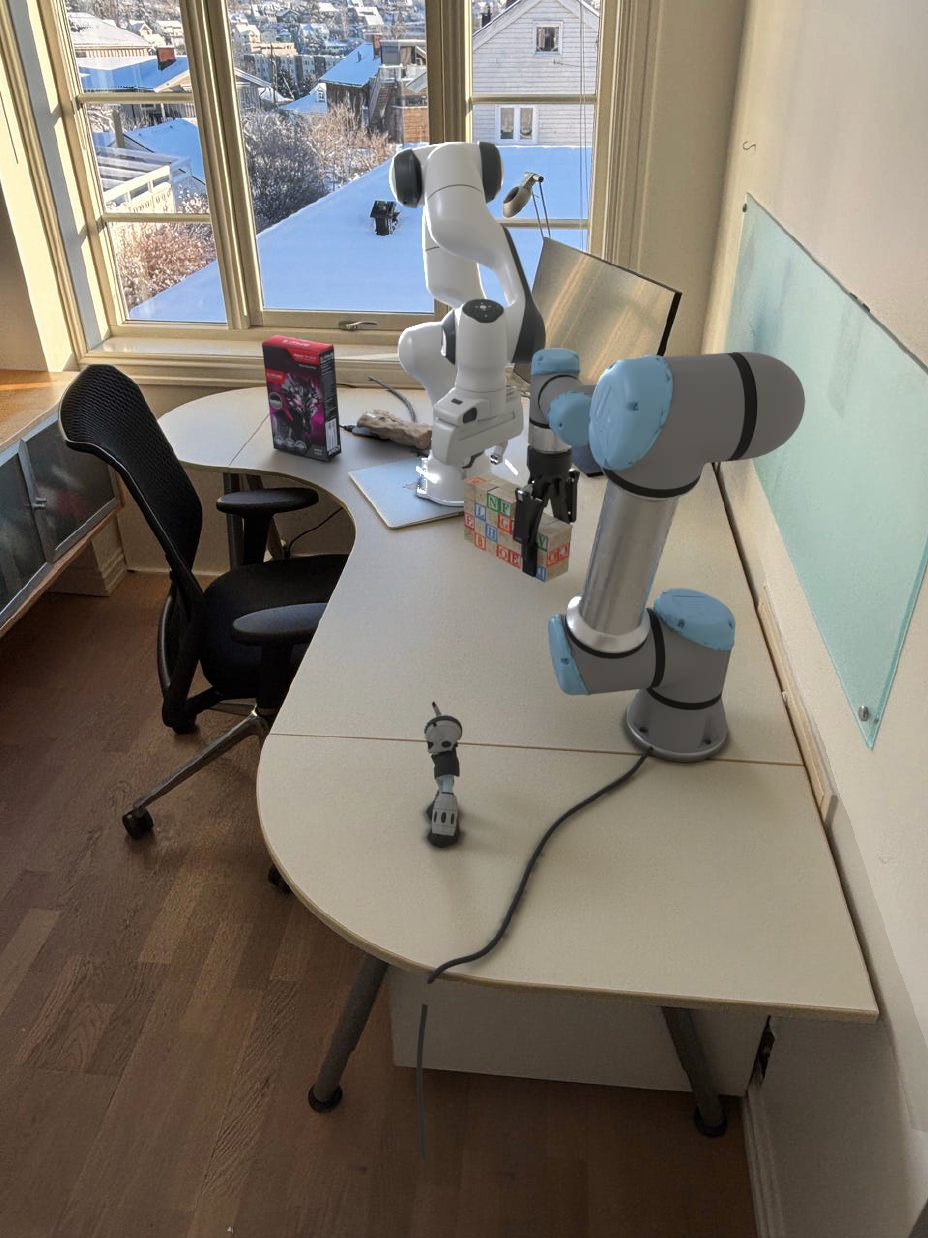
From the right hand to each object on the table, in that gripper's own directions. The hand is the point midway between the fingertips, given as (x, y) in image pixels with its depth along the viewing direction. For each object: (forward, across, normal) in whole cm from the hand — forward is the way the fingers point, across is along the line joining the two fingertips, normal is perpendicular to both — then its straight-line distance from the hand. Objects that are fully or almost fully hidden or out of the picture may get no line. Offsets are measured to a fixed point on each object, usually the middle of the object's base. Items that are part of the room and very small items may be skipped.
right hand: (542, 567), depth 164 cm
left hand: (-12, 0, -18) cm, 22 cm away
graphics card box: (+10, -10, -90) cm, 91 cm away
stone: (+10, -31, -82) cm, 88 cm away
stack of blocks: (+1, 0, -7) cm, 7 cm away
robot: (+11, +47, +27) cm, 56 cm away
